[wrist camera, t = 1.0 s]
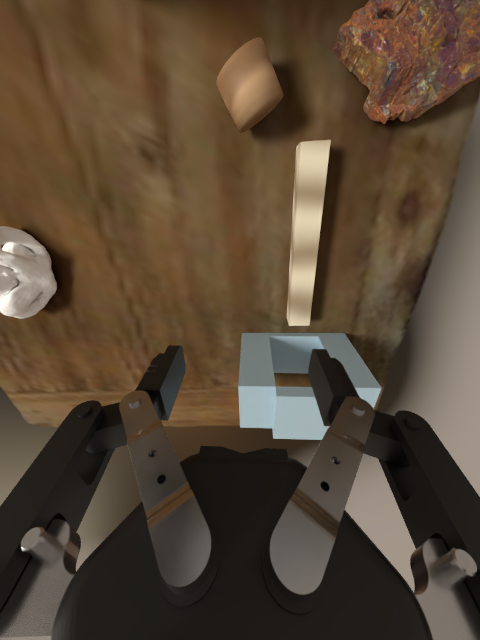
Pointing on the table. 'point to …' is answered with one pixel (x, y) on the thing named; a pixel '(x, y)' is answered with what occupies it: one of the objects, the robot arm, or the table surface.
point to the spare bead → (249, 85)
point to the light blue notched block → (293, 402)
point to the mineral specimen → (411, 53)
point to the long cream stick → (306, 227)
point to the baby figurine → (24, 274)
